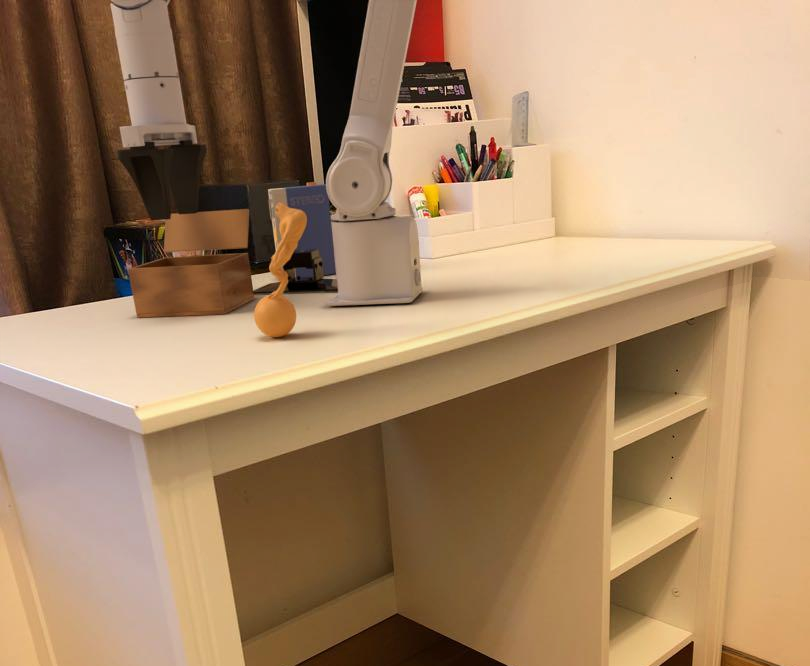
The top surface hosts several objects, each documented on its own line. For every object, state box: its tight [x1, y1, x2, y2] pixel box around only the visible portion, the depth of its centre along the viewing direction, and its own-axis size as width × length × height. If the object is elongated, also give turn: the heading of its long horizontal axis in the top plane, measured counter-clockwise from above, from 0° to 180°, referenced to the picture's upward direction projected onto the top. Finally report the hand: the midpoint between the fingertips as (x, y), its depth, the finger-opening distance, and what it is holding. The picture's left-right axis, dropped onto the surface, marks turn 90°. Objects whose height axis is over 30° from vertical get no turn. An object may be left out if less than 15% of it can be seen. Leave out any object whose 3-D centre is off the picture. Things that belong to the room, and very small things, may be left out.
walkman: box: [267, 181, 336, 277], centre depth 120 cm, size 8×3×12 cm, turn 112°
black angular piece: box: [253, 249, 338, 295], centre depth 111 cm, size 12×7×5 cm, turn 76°
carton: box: [127, 252, 255, 319], centre depth 103 cm, size 11×10×5 cm
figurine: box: [253, 203, 307, 338], centre depth 82 cm, size 8×6×12 cm
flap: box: [163, 208, 250, 253], centre depth 106 cm, size 11×5×1 cm
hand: (174, 216), depth 98 cm, fingers open, 7 cm apart
